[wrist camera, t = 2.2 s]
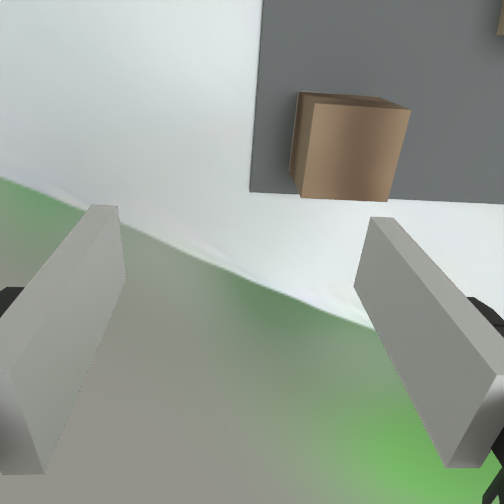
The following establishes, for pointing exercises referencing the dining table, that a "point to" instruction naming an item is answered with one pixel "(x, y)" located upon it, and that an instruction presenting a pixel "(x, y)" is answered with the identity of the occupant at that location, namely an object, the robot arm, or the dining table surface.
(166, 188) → the dining table surface
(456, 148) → the rubber mat
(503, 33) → the maple block
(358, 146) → the walnut block
